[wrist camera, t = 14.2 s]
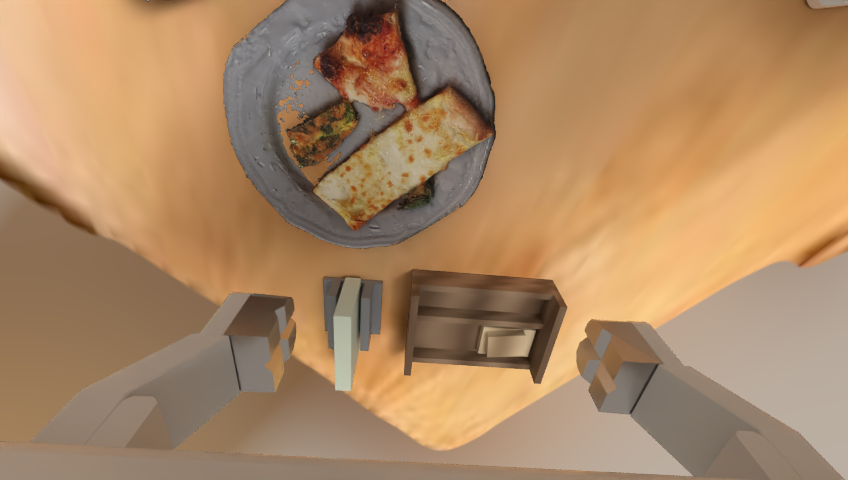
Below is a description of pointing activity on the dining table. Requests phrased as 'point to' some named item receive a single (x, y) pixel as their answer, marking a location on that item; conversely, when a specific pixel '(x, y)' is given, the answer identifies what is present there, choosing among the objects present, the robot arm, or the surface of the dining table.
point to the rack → (479, 318)
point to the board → (347, 333)
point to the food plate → (362, 115)
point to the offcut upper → (505, 343)
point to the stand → (368, 311)
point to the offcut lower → (484, 328)
